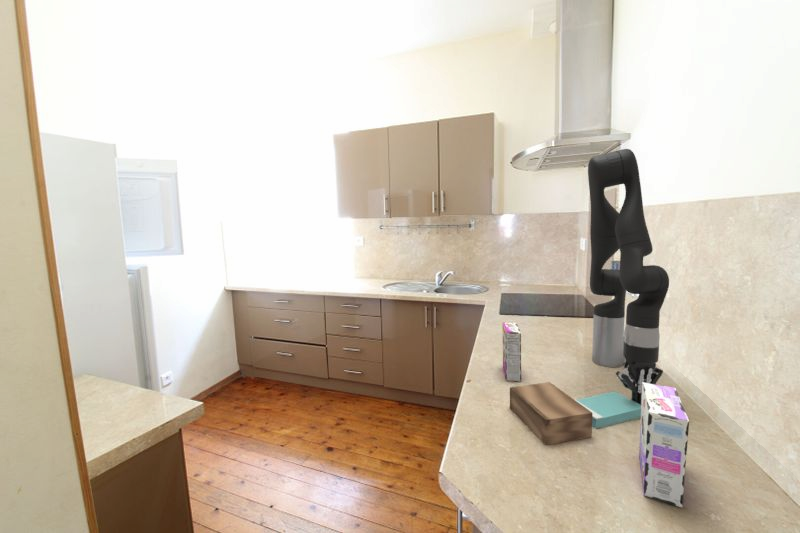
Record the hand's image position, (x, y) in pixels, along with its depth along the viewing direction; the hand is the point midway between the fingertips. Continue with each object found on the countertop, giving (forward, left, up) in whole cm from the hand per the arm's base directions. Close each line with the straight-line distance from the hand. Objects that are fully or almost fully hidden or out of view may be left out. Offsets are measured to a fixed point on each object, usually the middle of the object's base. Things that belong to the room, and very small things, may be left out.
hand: (637, 403), depth 90 cm
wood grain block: (+26, 0, -1) cm, 26 cm away
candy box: (+18, +22, -1) cm, 28 cm away
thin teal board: (+10, 0, -2) cm, 10 cm away
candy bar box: (+22, -27, -1) cm, 35 cm away
